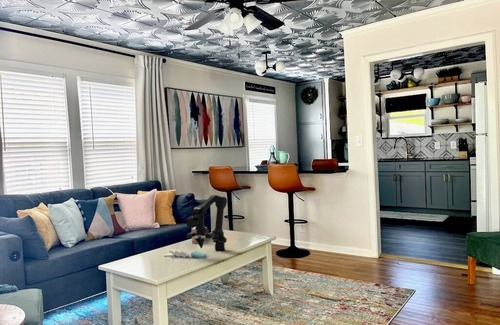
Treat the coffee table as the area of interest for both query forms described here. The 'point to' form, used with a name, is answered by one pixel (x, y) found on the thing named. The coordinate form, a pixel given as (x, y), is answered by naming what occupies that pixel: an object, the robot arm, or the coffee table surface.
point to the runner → (191, 258)
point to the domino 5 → (198, 254)
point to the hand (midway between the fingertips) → (201, 247)
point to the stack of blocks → (194, 237)
